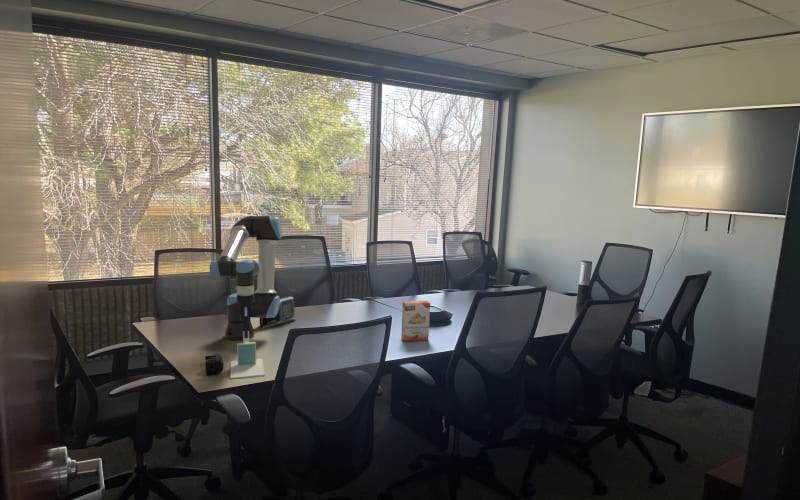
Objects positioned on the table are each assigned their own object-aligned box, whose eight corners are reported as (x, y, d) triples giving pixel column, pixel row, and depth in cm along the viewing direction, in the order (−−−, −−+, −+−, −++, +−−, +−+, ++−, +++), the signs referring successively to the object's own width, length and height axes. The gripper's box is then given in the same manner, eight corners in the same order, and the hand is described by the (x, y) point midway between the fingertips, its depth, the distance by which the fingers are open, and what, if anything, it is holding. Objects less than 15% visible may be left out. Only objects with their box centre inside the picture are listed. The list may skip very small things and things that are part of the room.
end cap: (223, 374, 219) (223, 360, 218) (206, 377, 216) (205, 361, 215) (222, 366, 228) (222, 352, 227) (205, 368, 225) (205, 354, 224)
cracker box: (404, 342, 267) (405, 303, 264) (400, 338, 273) (402, 300, 270) (429, 340, 271) (430, 302, 268) (425, 337, 277) (426, 299, 274)
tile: (237, 364, 229) (237, 343, 228) (256, 362, 232) (255, 341, 230) (237, 366, 227) (237, 344, 226) (256, 364, 230) (255, 343, 228)
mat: (230, 362, 233) (230, 360, 233) (262, 359, 237) (262, 358, 237) (230, 379, 214) (230, 377, 214) (264, 375, 219) (264, 374, 219)
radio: (260, 329, 284) (260, 303, 281) (253, 325, 290) (253, 300, 288) (297, 321, 299) (297, 297, 297) (290, 318, 305) (290, 294, 303)
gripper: (236, 291, 235) (237, 340, 238) (236, 297, 222) (237, 349, 226) (253, 290, 237) (254, 339, 240) (254, 296, 225) (255, 348, 228)
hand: (246, 343), depth 233 cm, fingers closed
